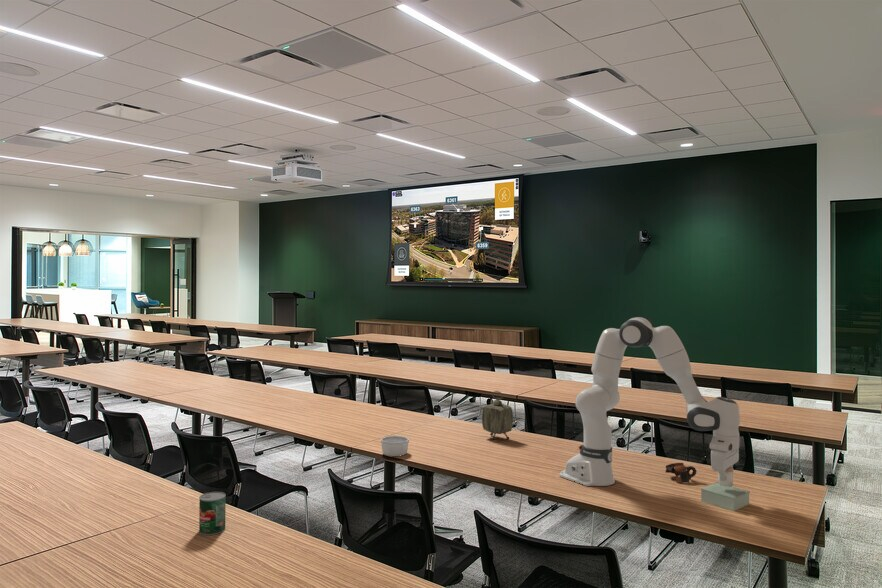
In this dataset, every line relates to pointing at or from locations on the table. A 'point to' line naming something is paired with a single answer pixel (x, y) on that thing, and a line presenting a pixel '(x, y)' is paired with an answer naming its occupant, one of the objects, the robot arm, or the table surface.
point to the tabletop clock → (497, 417)
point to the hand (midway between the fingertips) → (725, 478)
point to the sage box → (725, 496)
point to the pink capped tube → (727, 478)
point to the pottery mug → (681, 472)
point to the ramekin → (394, 445)
